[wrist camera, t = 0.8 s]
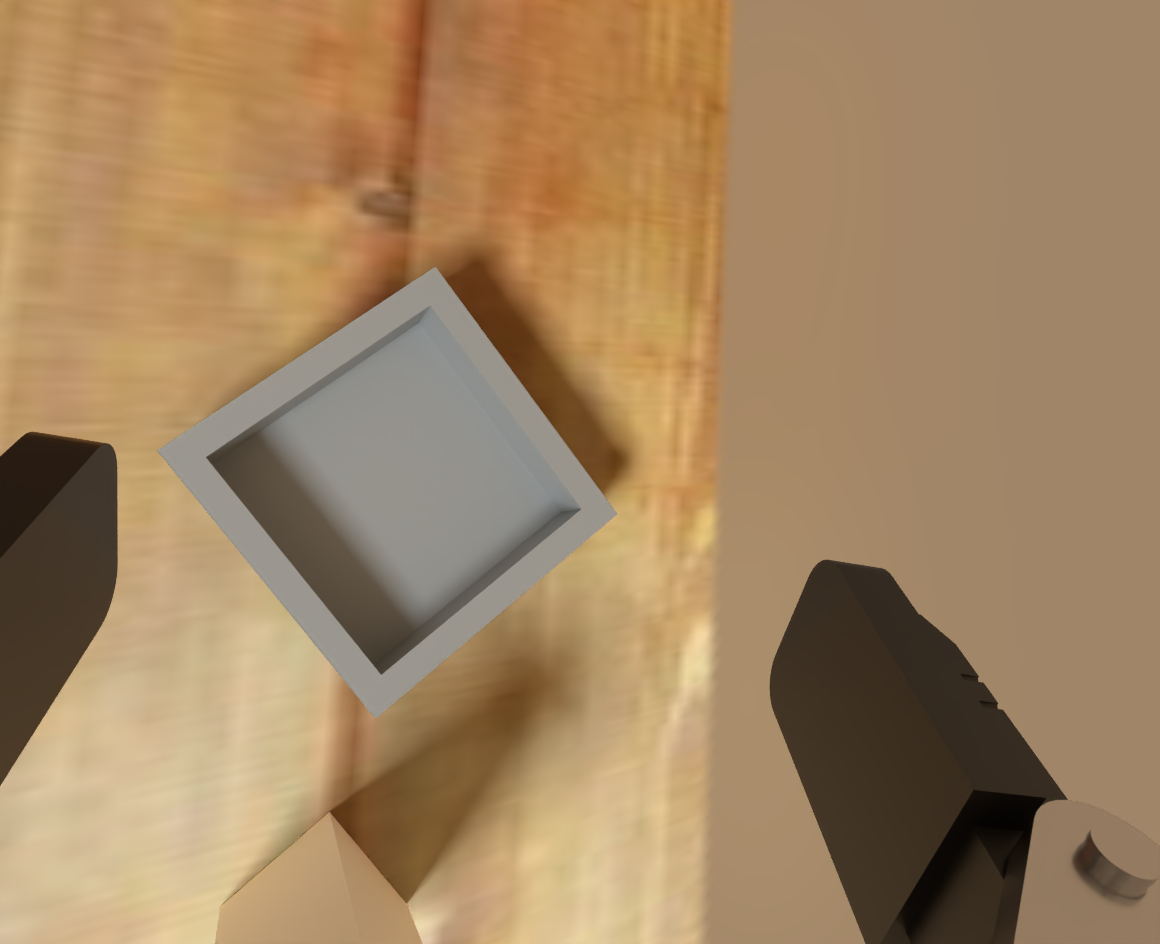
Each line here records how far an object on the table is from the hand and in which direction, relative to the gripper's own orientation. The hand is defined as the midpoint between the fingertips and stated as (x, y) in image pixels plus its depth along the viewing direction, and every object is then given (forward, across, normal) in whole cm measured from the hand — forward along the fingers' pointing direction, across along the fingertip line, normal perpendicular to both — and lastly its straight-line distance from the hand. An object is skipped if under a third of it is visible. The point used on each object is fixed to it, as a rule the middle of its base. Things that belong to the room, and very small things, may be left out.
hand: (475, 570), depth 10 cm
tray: (+21, +2, +11) cm, 24 cm away
